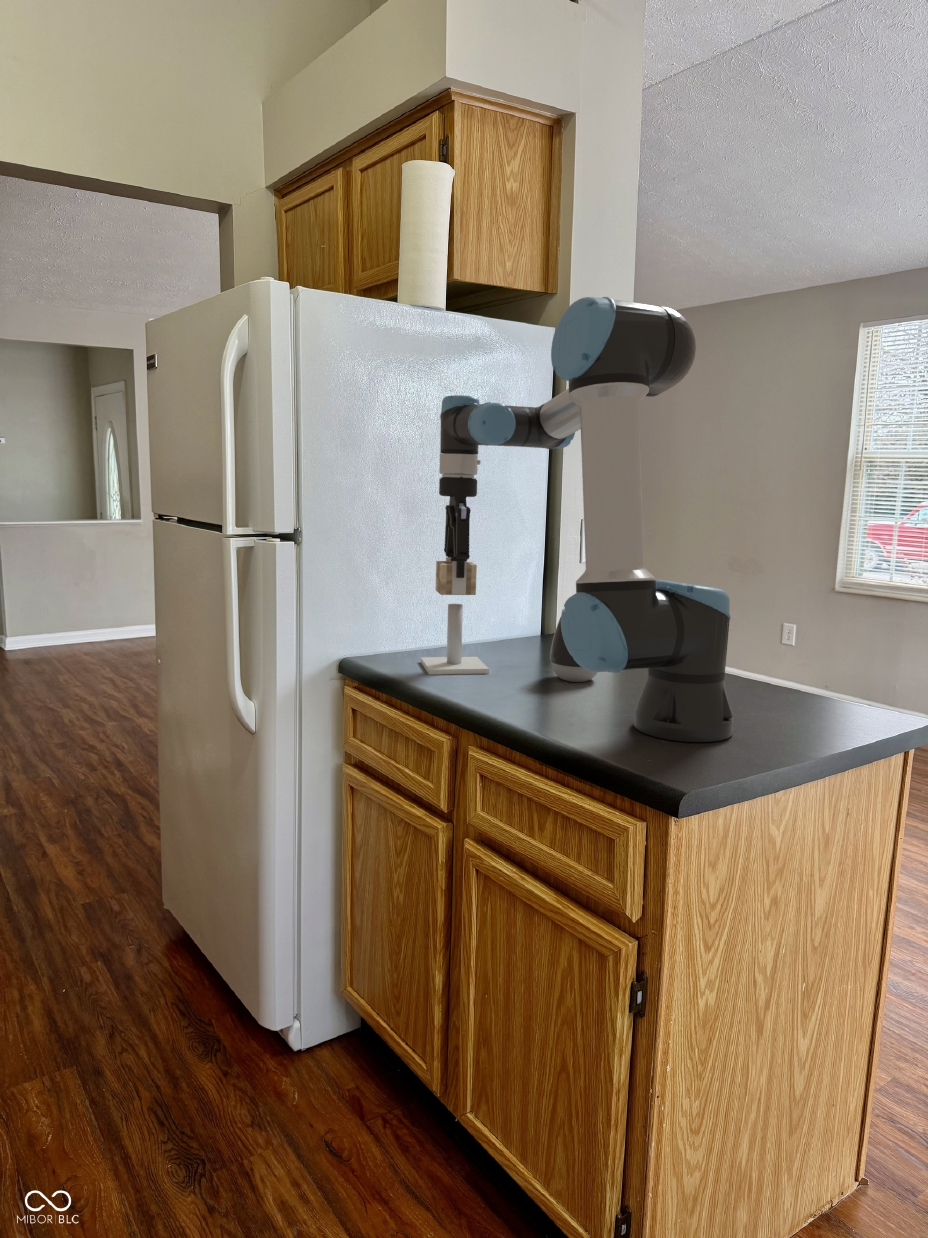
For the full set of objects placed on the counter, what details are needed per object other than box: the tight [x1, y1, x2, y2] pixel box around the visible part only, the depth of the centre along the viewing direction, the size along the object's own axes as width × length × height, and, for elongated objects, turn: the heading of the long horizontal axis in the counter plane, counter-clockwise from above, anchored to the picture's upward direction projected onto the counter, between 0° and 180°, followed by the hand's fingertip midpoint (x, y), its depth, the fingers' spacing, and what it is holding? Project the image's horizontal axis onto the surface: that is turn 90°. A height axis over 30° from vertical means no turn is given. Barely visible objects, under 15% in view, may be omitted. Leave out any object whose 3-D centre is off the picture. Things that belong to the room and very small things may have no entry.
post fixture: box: [420, 603, 490, 676], centre depth 179 cm, size 12×12×13 cm
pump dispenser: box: [549, 616, 599, 683], centre depth 171 cm, size 10×10×15 cm
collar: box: [435, 560, 478, 596], centre depth 177 cm, size 7×7×6 cm
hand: (455, 591), depth 178 cm, fingers closed on collar, 7 cm apart
